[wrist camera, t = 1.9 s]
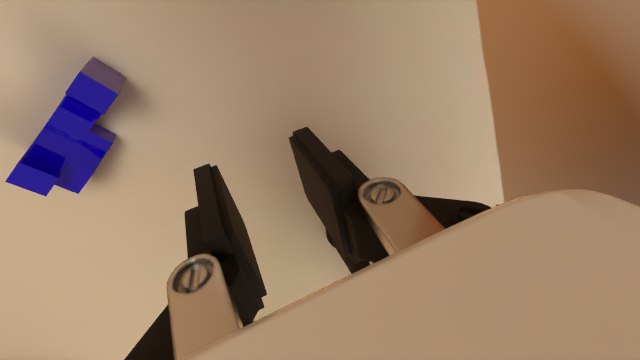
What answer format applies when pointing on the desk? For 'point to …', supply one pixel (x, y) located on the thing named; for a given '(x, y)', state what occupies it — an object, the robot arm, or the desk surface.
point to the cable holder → (71, 135)
